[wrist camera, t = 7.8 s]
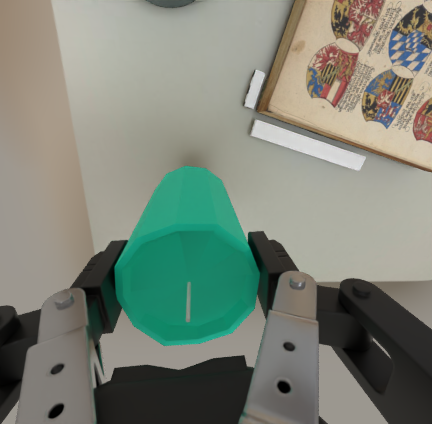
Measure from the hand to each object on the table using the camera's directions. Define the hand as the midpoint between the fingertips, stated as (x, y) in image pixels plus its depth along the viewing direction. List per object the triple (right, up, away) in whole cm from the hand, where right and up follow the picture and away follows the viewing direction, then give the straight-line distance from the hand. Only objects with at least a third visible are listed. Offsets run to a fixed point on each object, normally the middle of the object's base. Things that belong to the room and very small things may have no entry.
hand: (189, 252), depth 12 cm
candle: (-1, +3, +7) cm, 8 cm away
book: (+21, +21, +19) cm, 35 cm away
